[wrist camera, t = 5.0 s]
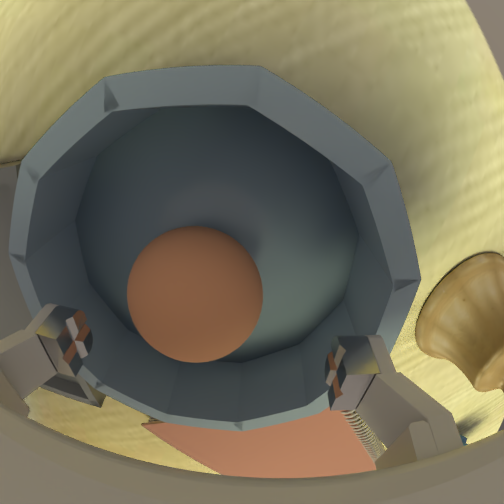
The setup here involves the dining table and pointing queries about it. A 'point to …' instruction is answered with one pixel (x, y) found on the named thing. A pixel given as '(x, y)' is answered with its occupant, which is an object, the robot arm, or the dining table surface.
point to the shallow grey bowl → (222, 219)
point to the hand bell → (468, 321)
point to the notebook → (280, 446)
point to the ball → (195, 294)
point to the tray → (13, 303)
